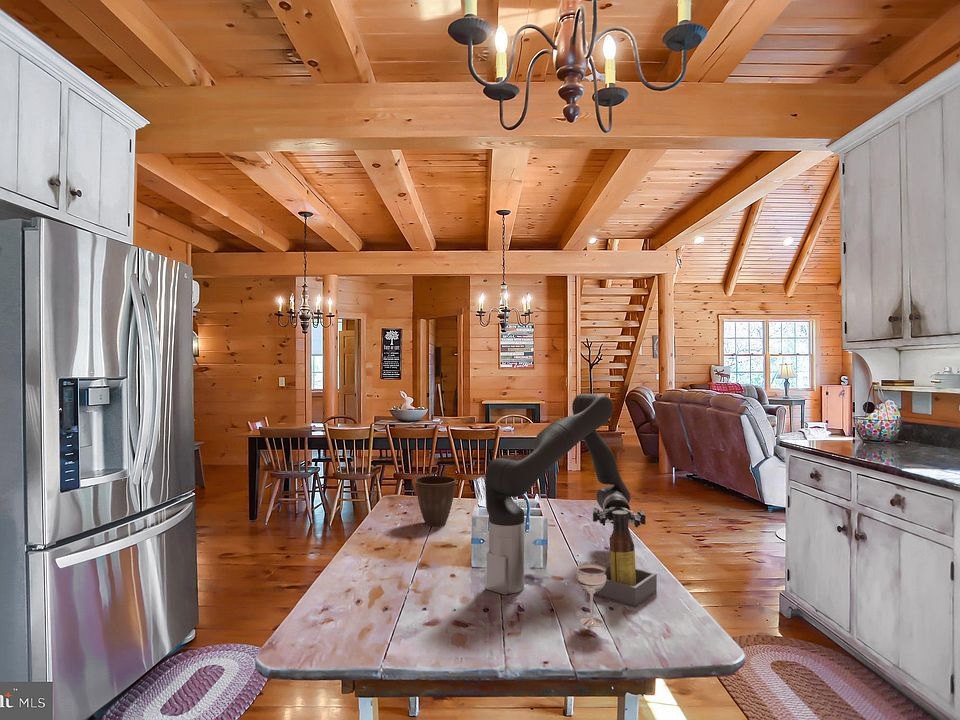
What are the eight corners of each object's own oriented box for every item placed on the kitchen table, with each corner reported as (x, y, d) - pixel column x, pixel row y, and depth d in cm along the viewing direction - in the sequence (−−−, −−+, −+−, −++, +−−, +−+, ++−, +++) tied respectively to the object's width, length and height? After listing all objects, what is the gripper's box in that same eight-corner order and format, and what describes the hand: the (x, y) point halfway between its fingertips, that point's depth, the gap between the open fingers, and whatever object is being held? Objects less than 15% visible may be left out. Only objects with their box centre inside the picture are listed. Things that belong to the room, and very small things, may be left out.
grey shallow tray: (635, 607, 142) (635, 588, 142) (588, 594, 150) (588, 576, 150) (656, 591, 152) (656, 573, 152) (611, 580, 160) (611, 563, 160)
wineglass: (600, 631, 130) (600, 576, 130) (571, 623, 133) (571, 570, 133) (611, 619, 135) (611, 567, 135) (583, 612, 139) (583, 561, 139)
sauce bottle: (641, 590, 151) (640, 512, 151) (626, 597, 147) (625, 516, 147) (619, 583, 156) (618, 507, 156) (605, 589, 152) (604, 512, 152)
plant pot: (454, 529, 207) (455, 484, 207) (412, 529, 207) (412, 483, 207) (457, 518, 222) (457, 475, 222) (417, 518, 222) (417, 475, 222)
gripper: (592, 494, 176) (593, 507, 160) (641, 497, 174) (648, 510, 158) (591, 520, 176) (593, 535, 160) (641, 522, 174) (647, 538, 158)
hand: (620, 522), depth 159 cm, fingers open, 8 cm apart
